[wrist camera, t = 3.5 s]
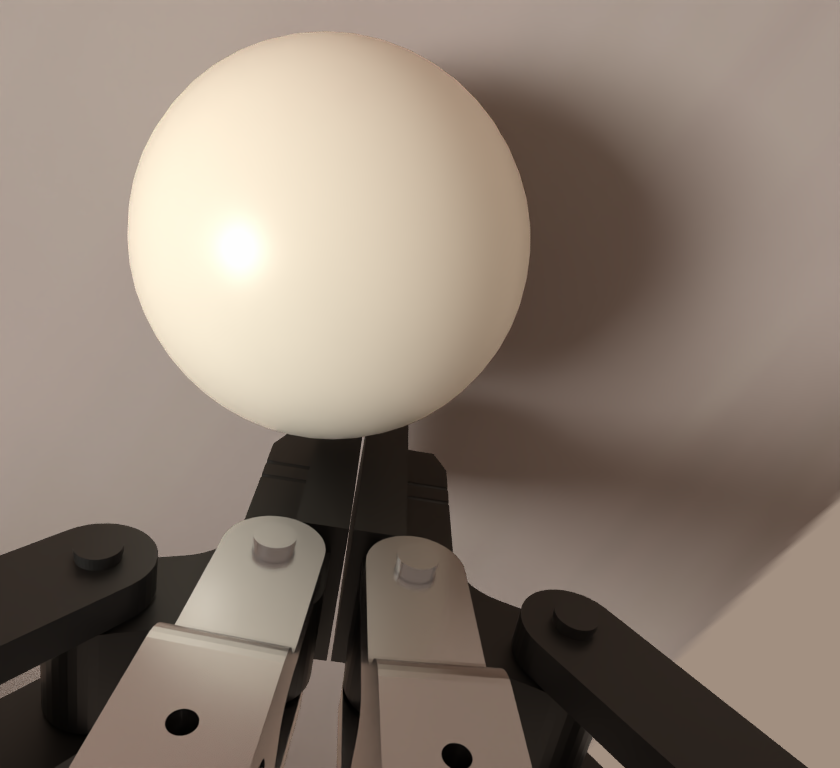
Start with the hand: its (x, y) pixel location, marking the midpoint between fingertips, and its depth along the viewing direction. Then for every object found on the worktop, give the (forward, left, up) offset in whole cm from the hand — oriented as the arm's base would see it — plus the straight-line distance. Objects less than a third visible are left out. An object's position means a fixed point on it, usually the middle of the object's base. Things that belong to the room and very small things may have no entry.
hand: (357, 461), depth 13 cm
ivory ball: (0, +4, +1) cm, 4 cm away
